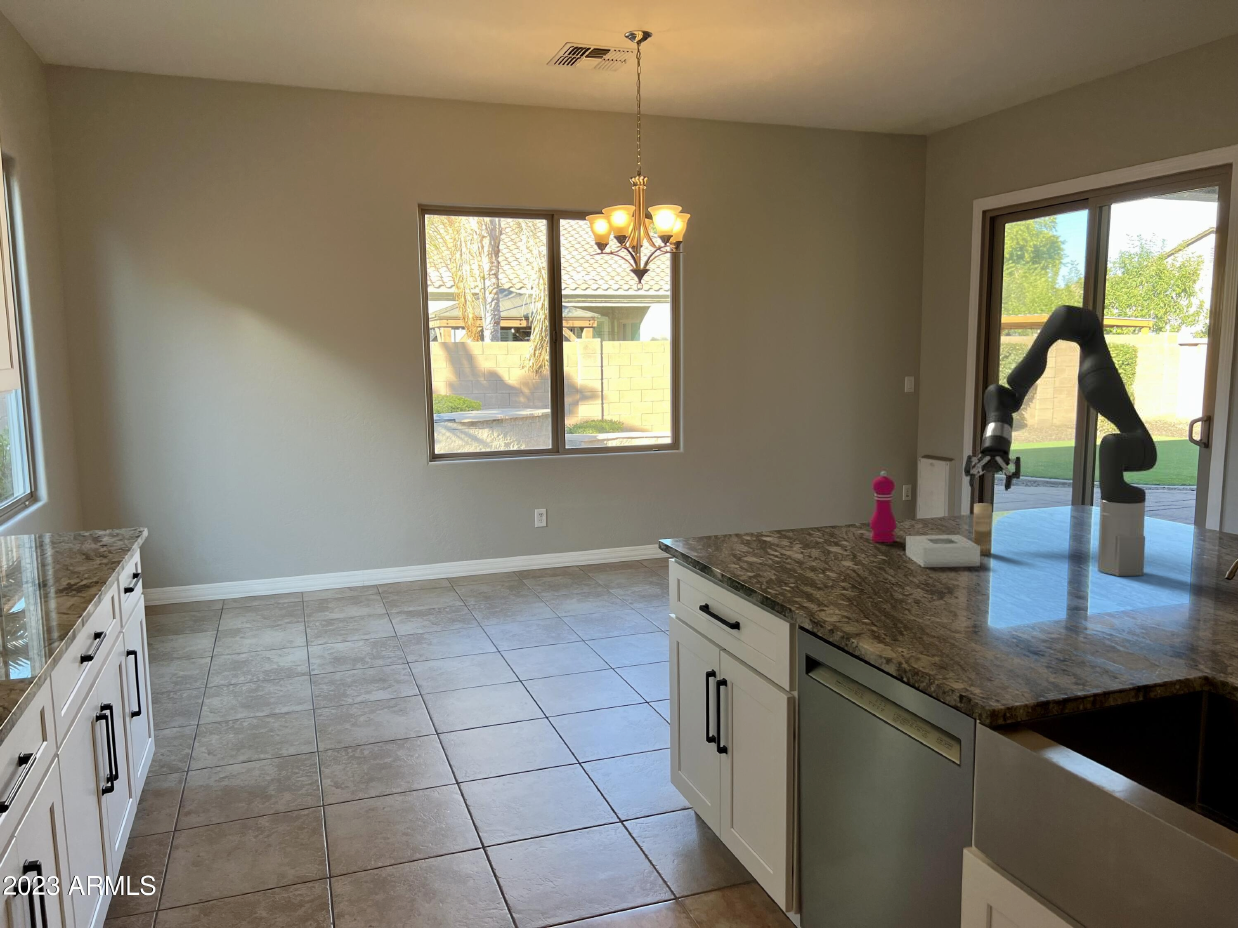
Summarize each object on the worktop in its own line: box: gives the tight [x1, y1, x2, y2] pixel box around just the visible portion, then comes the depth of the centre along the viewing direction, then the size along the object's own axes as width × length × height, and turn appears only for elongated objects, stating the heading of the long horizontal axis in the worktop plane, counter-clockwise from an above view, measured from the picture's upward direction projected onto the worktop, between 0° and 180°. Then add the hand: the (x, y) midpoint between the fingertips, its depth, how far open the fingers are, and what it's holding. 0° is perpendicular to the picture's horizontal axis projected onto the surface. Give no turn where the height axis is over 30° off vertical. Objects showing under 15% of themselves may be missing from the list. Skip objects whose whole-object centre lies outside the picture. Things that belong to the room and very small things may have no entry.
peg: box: [972, 502, 993, 556], centre depth 227 cm, size 4×4×13 cm
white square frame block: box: [905, 534, 981, 568], centre depth 221 cm, size 14×14×5 cm
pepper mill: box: [869, 471, 897, 543], centre depth 245 cm, size 7×7×20 cm
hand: (989, 488), depth 234 cm, fingers open, 8 cm apart
